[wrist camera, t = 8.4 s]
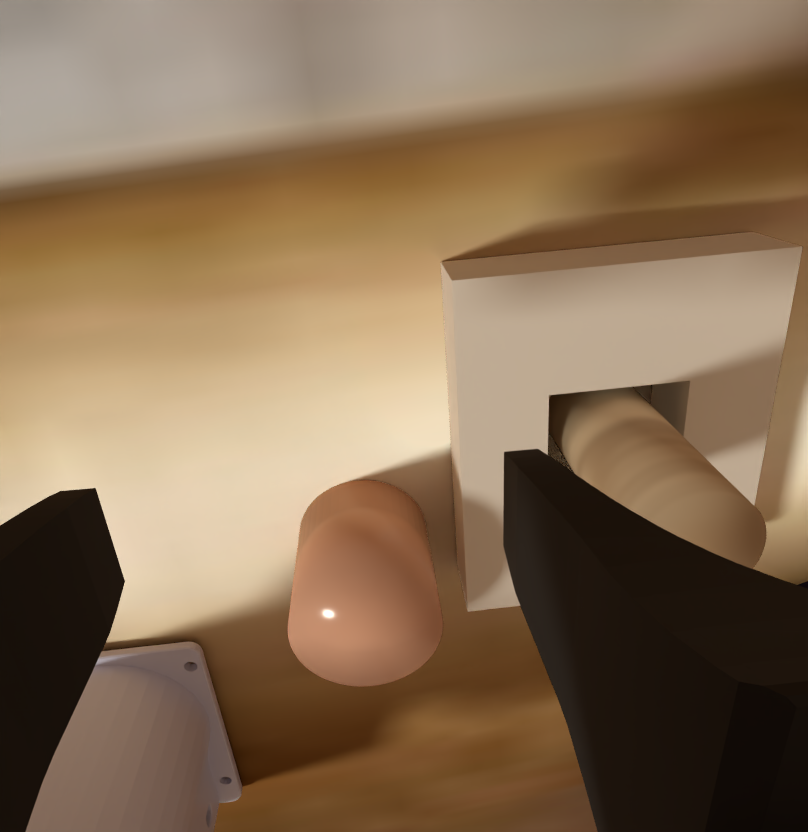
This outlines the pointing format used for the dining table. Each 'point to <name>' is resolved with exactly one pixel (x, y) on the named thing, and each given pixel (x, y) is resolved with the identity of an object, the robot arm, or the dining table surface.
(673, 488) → the beech pin
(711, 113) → the dining table surface
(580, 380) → the hole plate
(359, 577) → the terracotta peg
